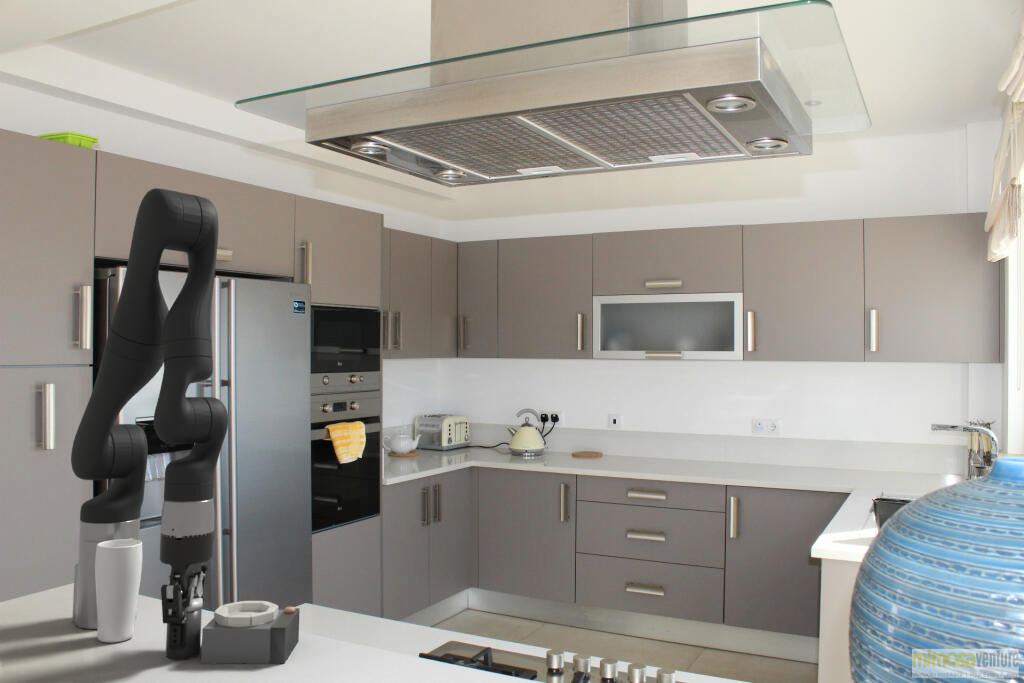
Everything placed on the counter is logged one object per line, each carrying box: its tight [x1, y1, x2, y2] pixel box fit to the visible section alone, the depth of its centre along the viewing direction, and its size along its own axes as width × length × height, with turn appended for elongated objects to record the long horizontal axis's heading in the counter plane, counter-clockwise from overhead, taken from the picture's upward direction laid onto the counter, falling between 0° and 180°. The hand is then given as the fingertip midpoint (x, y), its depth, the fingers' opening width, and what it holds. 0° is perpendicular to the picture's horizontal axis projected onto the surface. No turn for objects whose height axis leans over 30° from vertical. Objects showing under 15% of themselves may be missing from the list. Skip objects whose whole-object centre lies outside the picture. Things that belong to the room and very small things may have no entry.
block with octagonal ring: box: [200, 600, 301, 665], centre depth 124 cm, size 12×10×6 cm
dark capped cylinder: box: [165, 598, 204, 661], centre depth 122 cm, size 5×5×8 cm
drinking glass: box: [95, 539, 143, 644], centre depth 129 cm, size 7×7×15 cm
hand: (183, 642), depth 122 cm, fingers closed on dark capped cylinder, 4 cm apart
